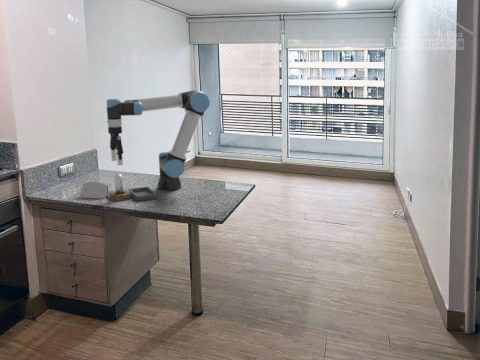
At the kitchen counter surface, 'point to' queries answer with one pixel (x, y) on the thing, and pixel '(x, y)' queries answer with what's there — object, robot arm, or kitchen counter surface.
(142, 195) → the tray
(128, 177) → the kitchen counter surface
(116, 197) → the holder
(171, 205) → the kitchen counter surface
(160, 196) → the kitchen counter surface
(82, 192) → the grey upright slab
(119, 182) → the pin
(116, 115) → the robot arm
